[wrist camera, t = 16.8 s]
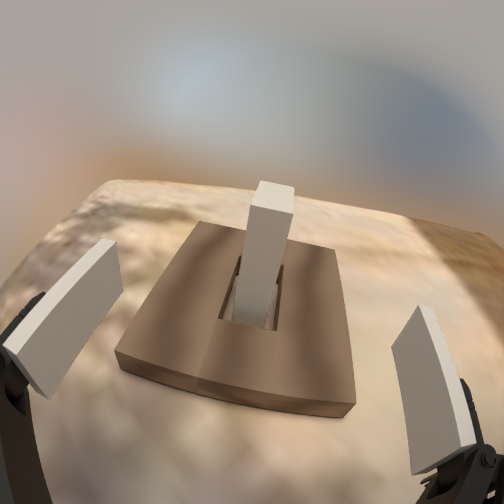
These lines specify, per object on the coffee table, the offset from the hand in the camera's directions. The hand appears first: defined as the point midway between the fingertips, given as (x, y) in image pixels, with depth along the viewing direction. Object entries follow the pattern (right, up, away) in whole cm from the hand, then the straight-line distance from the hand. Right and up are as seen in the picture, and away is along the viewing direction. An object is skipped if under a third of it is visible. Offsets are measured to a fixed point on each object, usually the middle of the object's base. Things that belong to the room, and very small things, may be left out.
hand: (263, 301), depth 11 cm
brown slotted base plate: (-1, -4, +17) cm, 17 cm away
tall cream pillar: (-1, -4, +17) cm, 17 cm away
